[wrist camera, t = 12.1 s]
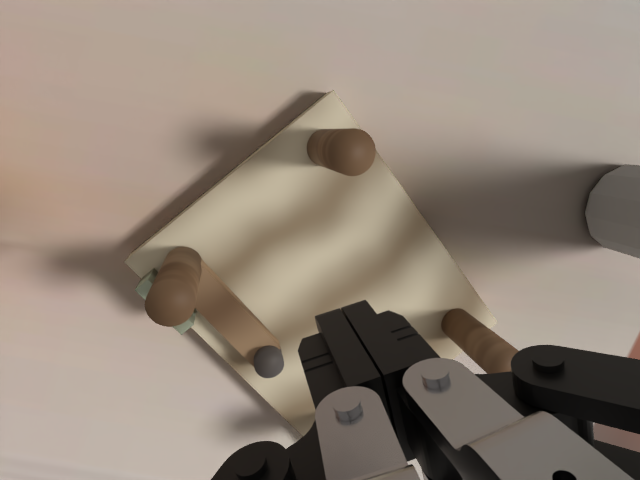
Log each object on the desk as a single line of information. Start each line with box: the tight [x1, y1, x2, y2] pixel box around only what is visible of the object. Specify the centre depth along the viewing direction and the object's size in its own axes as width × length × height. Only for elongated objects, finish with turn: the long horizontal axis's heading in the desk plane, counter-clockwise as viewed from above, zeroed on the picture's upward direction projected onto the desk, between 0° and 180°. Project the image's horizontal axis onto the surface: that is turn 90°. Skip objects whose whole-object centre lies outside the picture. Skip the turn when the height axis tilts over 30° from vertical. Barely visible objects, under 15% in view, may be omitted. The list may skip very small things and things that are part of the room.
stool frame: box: [124, 90, 519, 436], centre depth 29 cm, size 22×17×9 cm
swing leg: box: [145, 247, 284, 378], centre depth 27 cm, size 11×2×7 cm, turn 38°
